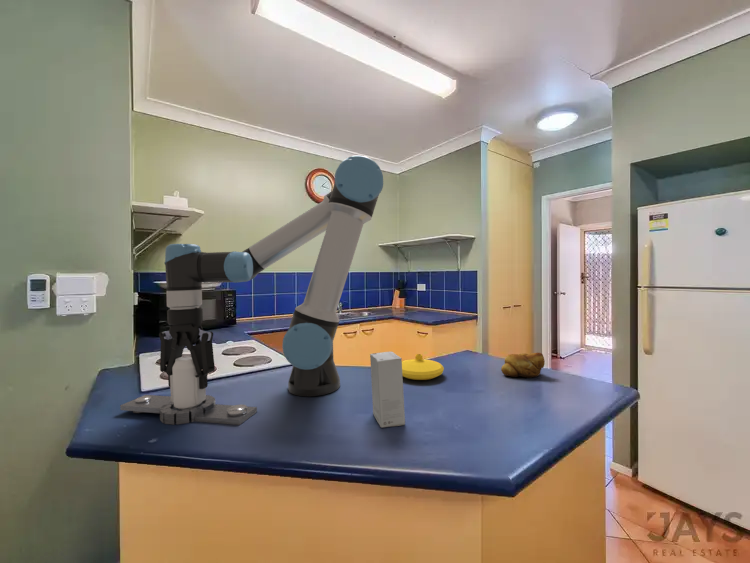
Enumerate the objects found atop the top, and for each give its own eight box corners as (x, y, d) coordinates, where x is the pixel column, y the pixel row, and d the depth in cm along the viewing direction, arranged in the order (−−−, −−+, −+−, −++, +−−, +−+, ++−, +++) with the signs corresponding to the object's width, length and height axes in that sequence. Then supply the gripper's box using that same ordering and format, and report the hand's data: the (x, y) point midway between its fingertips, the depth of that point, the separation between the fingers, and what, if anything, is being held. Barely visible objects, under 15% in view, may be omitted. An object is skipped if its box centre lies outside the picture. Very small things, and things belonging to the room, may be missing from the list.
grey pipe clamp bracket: (262, 408, 82) (261, 396, 82) (233, 430, 71) (232, 416, 71) (153, 400, 89) (153, 389, 89) (111, 419, 77) (110, 406, 77)
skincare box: (405, 425, 71) (404, 358, 71) (379, 429, 70) (377, 360, 69) (394, 410, 79) (393, 349, 79) (370, 412, 78) (369, 351, 78)
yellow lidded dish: (384, 376, 105) (384, 355, 105) (416, 366, 116) (416, 347, 116) (422, 388, 94) (422, 364, 93) (453, 376, 104) (453, 354, 104)
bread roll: (506, 380, 99) (506, 354, 99) (494, 370, 109) (494, 347, 109) (548, 379, 99) (548, 353, 99) (533, 370, 109) (532, 346, 109)
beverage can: (185, 401, 83) (183, 354, 83) (208, 401, 82) (206, 354, 82) (167, 411, 77) (165, 361, 77) (192, 412, 76) (190, 361, 76)
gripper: (229, 305, 81) (232, 397, 81) (165, 305, 85) (168, 392, 85) (208, 309, 73) (211, 409, 74) (138, 309, 77) (142, 404, 78)
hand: (188, 400), depth 80 cm, fingers closed on beverage can, 6 cm apart
